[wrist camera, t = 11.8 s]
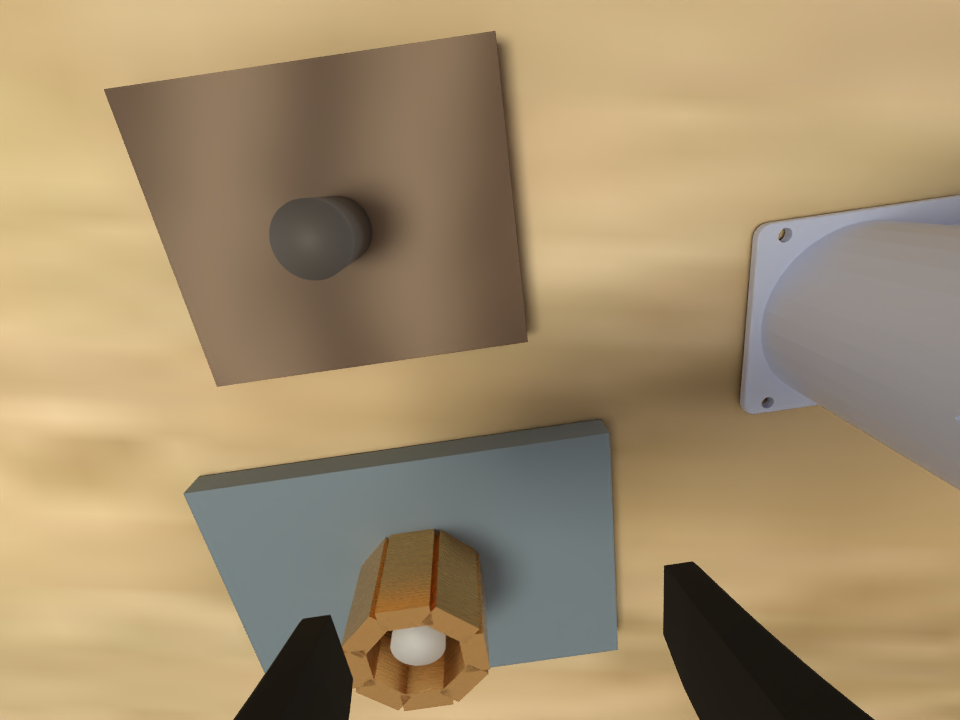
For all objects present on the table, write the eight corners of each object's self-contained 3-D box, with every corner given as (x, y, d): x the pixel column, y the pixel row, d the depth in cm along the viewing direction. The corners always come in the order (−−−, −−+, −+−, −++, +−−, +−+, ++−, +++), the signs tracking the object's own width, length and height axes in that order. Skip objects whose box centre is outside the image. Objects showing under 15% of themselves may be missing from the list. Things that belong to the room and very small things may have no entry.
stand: (492, 42, 15) (506, -14, 11) (523, 332, 18) (542, 375, 14) (130, 96, 15) (1, 61, 11) (231, 374, 18) (165, 429, 14)
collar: (473, 523, 20) (476, 599, 16) (489, 612, 22) (495, 698, 18) (351, 540, 20) (327, 620, 17) (378, 628, 22) (362, 716, 19)
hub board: (601, 419, 20) (639, 480, 16) (610, 628, 25) (641, 719, 20) (198, 476, 20) (130, 553, 16) (284, 674, 25) (248, 773, 21)
